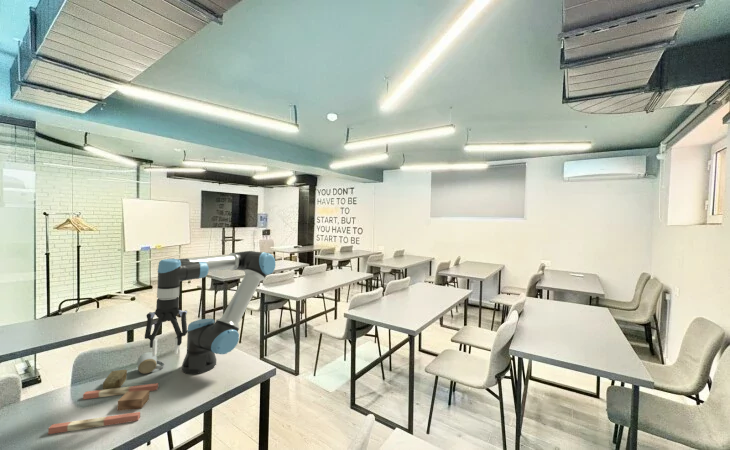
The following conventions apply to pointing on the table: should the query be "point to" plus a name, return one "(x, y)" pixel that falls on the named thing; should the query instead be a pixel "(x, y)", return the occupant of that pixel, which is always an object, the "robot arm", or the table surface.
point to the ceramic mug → (148, 363)
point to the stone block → (115, 379)
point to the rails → (100, 421)
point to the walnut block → (133, 400)
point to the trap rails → (109, 419)
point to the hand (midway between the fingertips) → (165, 353)
